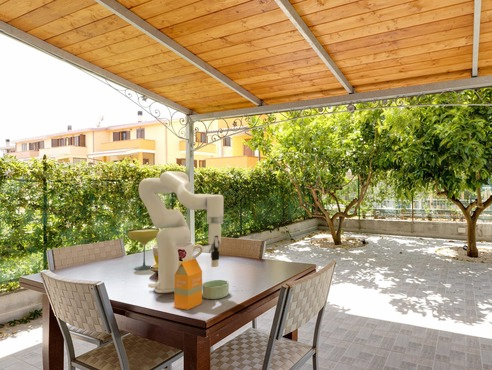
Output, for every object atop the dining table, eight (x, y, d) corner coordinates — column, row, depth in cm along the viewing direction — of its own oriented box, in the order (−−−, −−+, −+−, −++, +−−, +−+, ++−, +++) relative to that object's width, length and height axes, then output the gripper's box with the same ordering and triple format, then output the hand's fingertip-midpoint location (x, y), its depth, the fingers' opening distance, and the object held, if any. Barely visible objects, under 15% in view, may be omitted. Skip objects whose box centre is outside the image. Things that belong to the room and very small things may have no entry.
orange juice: (174, 307, 139) (174, 261, 140) (188, 300, 147) (189, 257, 148) (188, 309, 136) (188, 263, 137) (202, 303, 145) (202, 259, 145)
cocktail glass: (137, 273, 196) (137, 232, 196) (122, 269, 206) (122, 230, 206) (165, 267, 211) (165, 229, 211) (150, 263, 221) (150, 227, 221)
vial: (211, 267, 149) (211, 248, 149) (210, 265, 152) (210, 246, 152) (219, 266, 150) (219, 247, 151) (218, 265, 154) (218, 246, 154)
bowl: (203, 301, 147) (203, 288, 147) (201, 293, 158) (201, 281, 158) (230, 297, 152) (230, 285, 152) (226, 290, 163) (226, 278, 163)
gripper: (205, 219, 158) (205, 256, 157) (208, 222, 143) (208, 263, 142) (221, 218, 161) (220, 255, 160) (225, 221, 146) (225, 261, 145)
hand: (214, 258), depth 151 cm, fingers closed on vial, 3 cm apart
